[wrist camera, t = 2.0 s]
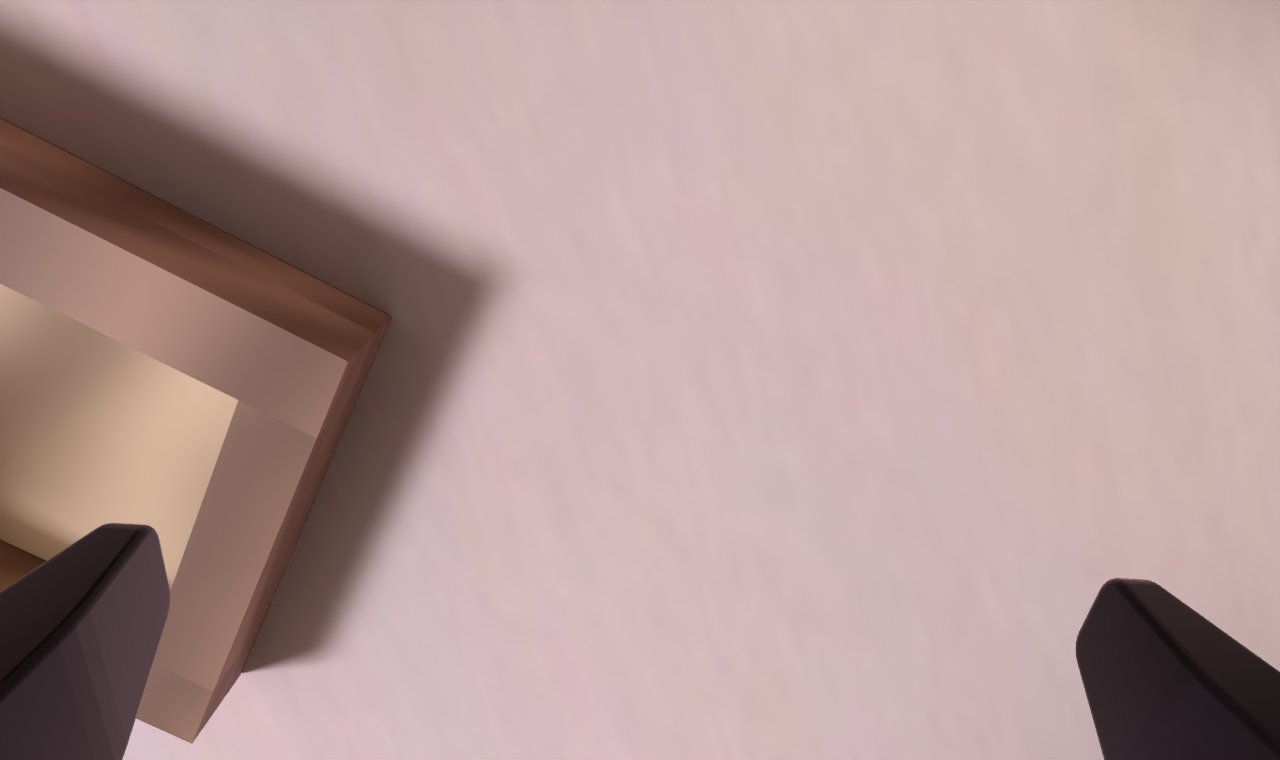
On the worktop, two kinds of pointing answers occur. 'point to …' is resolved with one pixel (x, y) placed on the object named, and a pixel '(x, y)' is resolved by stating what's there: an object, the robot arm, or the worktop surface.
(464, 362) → the worktop surface
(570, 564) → the worktop surface
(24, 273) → the brown wooden flat tray
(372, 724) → the worktop surface
